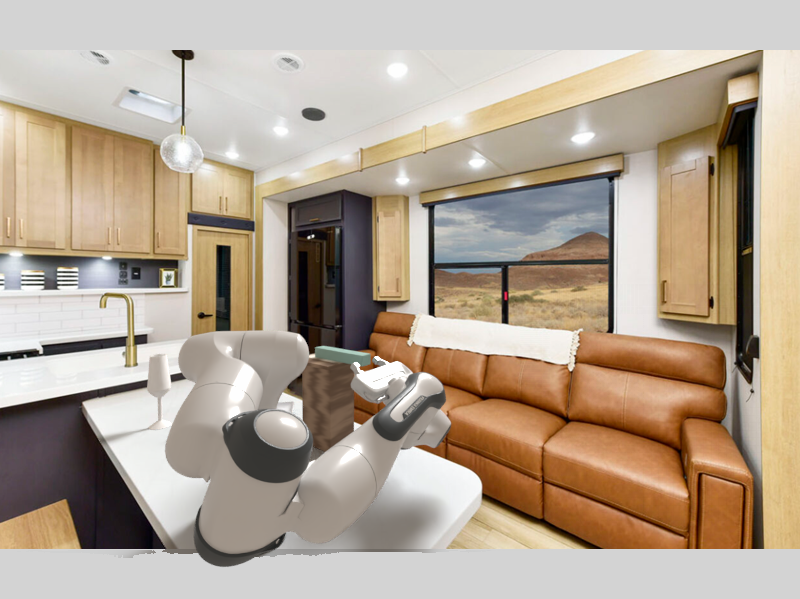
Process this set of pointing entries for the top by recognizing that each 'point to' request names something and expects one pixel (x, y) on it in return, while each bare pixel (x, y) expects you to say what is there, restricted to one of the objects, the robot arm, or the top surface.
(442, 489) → the top surface
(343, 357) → the bar
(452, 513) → the top surface
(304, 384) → the stand
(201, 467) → the robot arm
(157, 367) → the champagne flute
